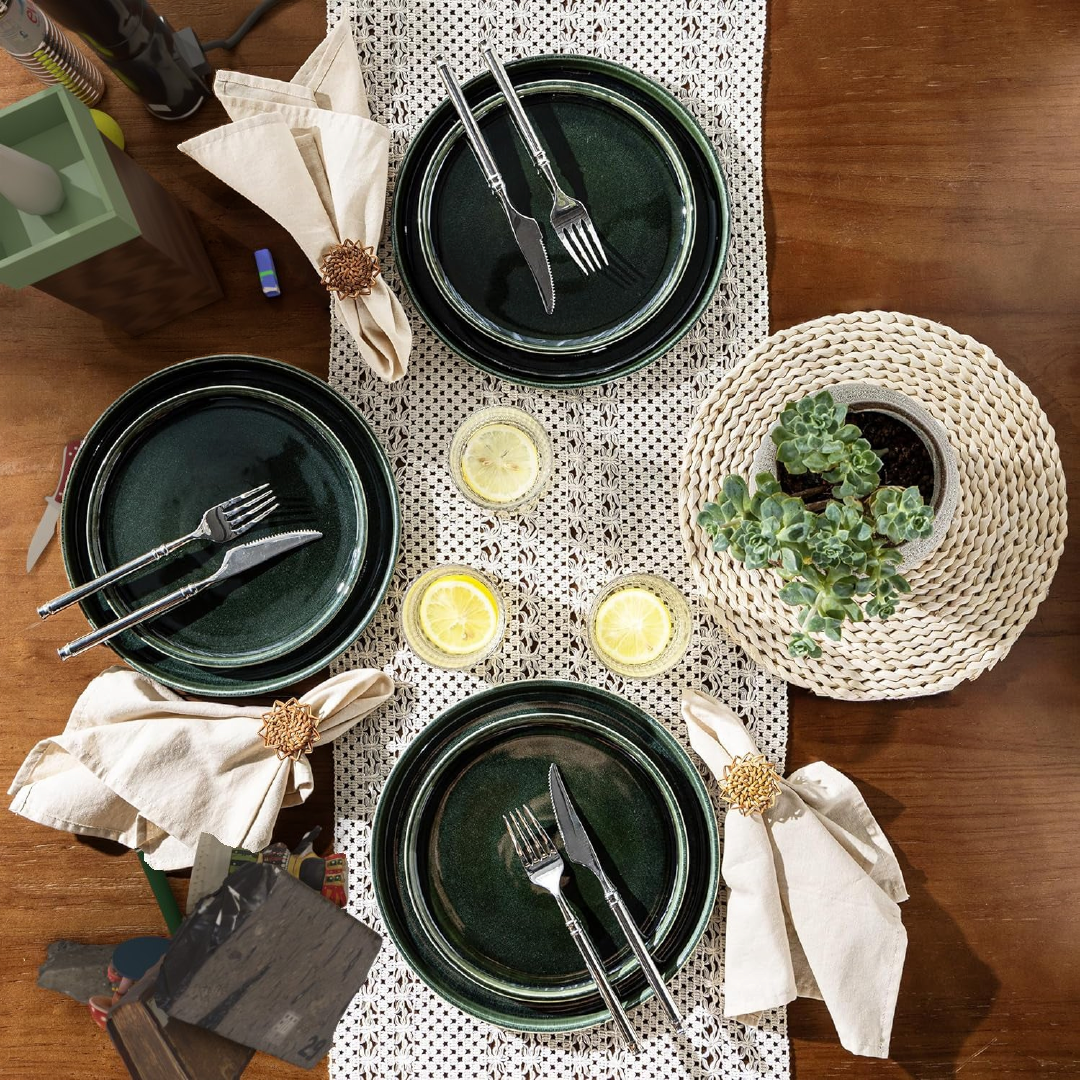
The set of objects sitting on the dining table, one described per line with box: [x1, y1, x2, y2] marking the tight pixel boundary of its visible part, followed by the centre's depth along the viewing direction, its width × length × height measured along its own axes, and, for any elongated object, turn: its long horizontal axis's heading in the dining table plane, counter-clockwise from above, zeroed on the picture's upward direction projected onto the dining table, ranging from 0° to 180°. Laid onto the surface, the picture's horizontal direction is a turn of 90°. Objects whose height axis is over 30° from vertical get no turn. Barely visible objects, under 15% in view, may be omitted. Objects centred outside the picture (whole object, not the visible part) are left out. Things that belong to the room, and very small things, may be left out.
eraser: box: [254, 248, 281, 298], centre depth 113 cm, size 2×6×2 cm
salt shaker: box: [0, 144, 66, 215], centre depth 83 cm, size 6×6×13 cm
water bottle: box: [0, 0, 106, 109], centre depth 103 cm, size 7×7×25 cm
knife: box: [26, 440, 83, 574], centre depth 114 cm, size 20×1×3 cm
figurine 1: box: [88, 935, 172, 1031], centre depth 106 cm, size 12×9×8 cm
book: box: [105, 953, 258, 1080], centre depth 101 cm, size 17×7×25 cm, turn 25°
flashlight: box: [134, 847, 187, 938], centre depth 112 cm, size 5×5×20 cm
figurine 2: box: [185, 825, 350, 915], centre depth 109 cm, size 12×15×20 cm
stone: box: [35, 939, 134, 1006], centre depth 110 cm, size 18×9×10 cm
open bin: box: [0, 82, 142, 291], centre depth 88 cm, size 16×16×5 cm
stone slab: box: [154, 862, 384, 1072], centre depth 101 cm, size 18×9×30 cm
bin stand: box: [29, 128, 225, 337], centre depth 102 cm, size 14×14×24 cm
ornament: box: [89, 108, 125, 151], centre depth 110 cm, size 7×7×10 cm
